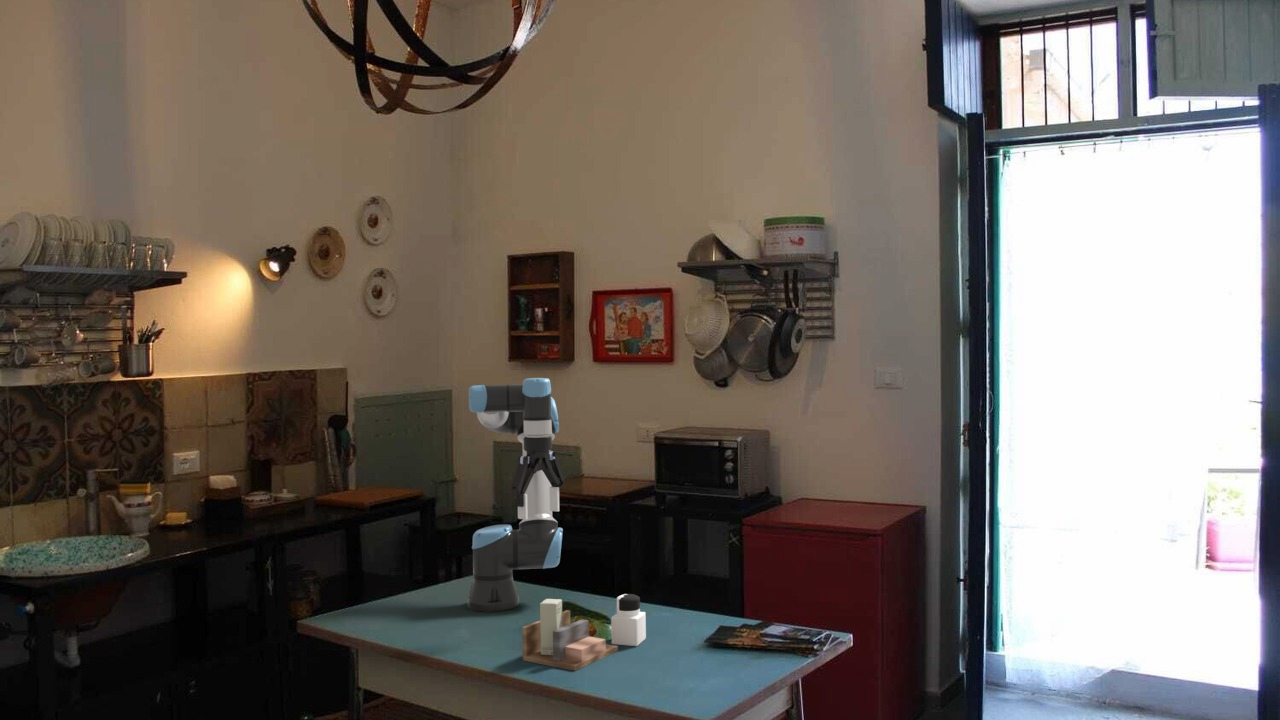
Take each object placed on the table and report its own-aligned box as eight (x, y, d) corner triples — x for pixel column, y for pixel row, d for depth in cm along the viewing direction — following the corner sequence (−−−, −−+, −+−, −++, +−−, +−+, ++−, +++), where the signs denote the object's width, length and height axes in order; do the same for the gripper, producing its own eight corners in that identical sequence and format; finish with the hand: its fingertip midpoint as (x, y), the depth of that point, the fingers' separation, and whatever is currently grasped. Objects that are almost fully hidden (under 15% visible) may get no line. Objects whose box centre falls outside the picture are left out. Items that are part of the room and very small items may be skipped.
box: (557, 656, 250) (556, 604, 250) (540, 655, 251) (539, 603, 251) (563, 650, 255) (562, 598, 255) (546, 649, 256) (545, 598, 256)
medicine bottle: (646, 638, 268) (645, 593, 268) (637, 646, 261) (636, 600, 261) (620, 636, 270) (620, 591, 270) (611, 644, 264) (610, 598, 263)
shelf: (567, 641, 267) (566, 610, 266) (617, 650, 258) (617, 618, 258) (522, 660, 252) (522, 627, 251) (575, 670, 243) (574, 636, 243)
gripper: (555, 431, 287) (556, 506, 287) (496, 439, 266) (497, 521, 266) (576, 432, 282) (578, 508, 283) (518, 440, 262) (519, 523, 262)
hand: (539, 515), depth 274 cm, fingers open, 13 cm apart
